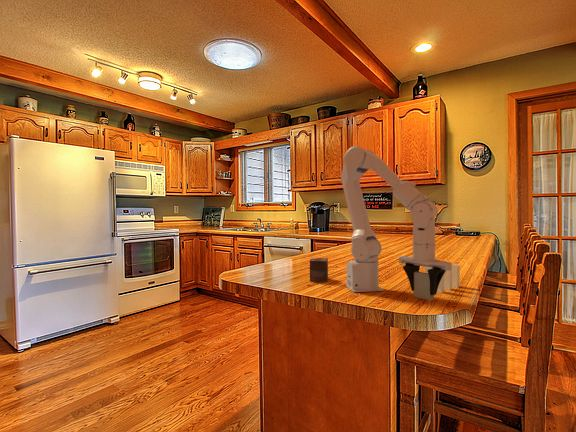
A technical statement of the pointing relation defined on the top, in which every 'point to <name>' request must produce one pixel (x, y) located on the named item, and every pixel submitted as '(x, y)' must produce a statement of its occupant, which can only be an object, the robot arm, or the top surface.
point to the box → (319, 269)
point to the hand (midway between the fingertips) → (423, 292)
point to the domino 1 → (422, 286)
